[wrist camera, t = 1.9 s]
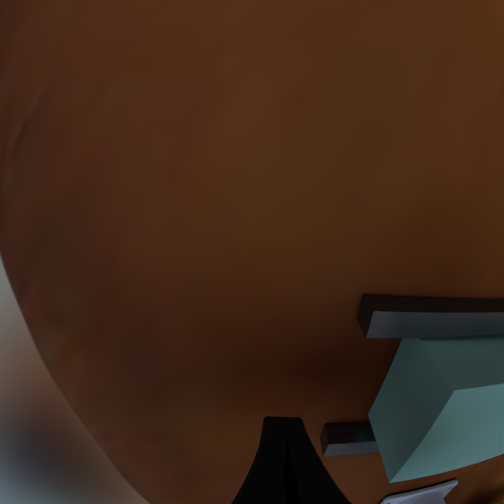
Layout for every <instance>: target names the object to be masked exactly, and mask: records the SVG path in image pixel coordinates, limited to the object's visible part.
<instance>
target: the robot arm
mask: <svg viewBox="0 0 504 504" xmlns="http://www.w3.org/2000/svg"><path fill="white" fill-rule="evenodd" d="M457 484H458V481H457V480H452V481H449V482H446V483H442V484H439V485H435V486H432V487H428V488H424V489H420V490H416V491H411V492H407V493H402V494H397V495H392V496H388V497H386V498H385V499H384V500H383V501H382V502H381V503H380V504H446V503H445V500H444V497H445V496H446V495H447V494H448V493H449V492H450V491H451V490H452V489H453V488H454V487H455V486H456V485H457ZM231 504H351V502H350V501H349V500H348V499H347V498H346V497H345V495H344V494H343V493H342V492H341V490H340V489H339V488H338V486H337V485H336V483H335V482H334V481H333V479H332V478H331V476H330V475H329V473H328V471H327V470H326V468H325V467H324V465H323V463H322V461H321V460H320V458H319V456H318V454H317V452H316V450H315V448H314V446H313V444H312V442H311V440H310V438H309V436H308V434H307V431H306V429H305V426H304V423H303V421H302V419H301V418H300V417H271V416H267V417H265V418H264V421H263V427H262V433H261V438H260V444H259V448H258V451H257V453H256V456H255V459H254V461H253V464H252V466H251V468H250V470H249V473H248V475H247V477H246V479H245V481H244V483H243V485H242V487H241V488H240V490H239V492H238V494H237V495H236V497H235V499H234V500H233V502H232V503H231Z"/></svg>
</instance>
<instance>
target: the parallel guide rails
mask: <svg viewBox="0 0 504 504" xmlns="http://www.w3.org/2000/svg"><path fill="white" fill-rule="evenodd" d="M357 320H358V322H359V324H360V326H361V328H362V330H363V332H364V334H365V336H366V338H437V337H461V336H478V335H492V334H504V299H462V298H432V297H408V296H388V295H369V294H363V296H362V300H361V305H360V309H359V313H358V317H357ZM320 440H321V446H322V452H323V457H328V456H347V455H359V454H370V453H379V452H380V451H379V448H378V445H377V442H376V439H375V435H374V432H373V429H372V426H371V423H370V422H365V423H347V424H325V425H324V428H323V431H322V433H321V436H320Z"/></svg>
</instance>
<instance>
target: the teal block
mask: <svg viewBox="0 0 504 504" xmlns="http://www.w3.org/2000/svg"><path fill="white" fill-rule="evenodd" d="M368 417H369V420H370V423H371V426H372V429H373V432H374V435H375V439H376V442H377V445H378V448H379V451H380V454H381V458H382V461H383V464H384V468H385V471H386V474H387V478H388V481H389V483H392V482H398V481H404V480H410V479H415V478H420V477H425V476H430V475H434V474H439V473H443V472H447V471H451V470H454V469H458V468H462V467H465V466H468V465H472V464H475V463H478V462H481V461H484V460H487V459H490V458H493V457H496V456H499V455H501V454H504V334H492V335H478V336H461V337H437V338H402V340H401V343H400V345H399V348H398V350H397V353H396V355H395V357H394V360H393V362H392V364H391V367H390V369H389V371H388V374H387V376H386V378H385V380H384V382H383V385H382V387H381V389H380V391H379V393H378V395H377V397H376V399H375V401H374V403H373V405H372V407H371V409H370V411H369V413H368Z"/></svg>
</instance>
